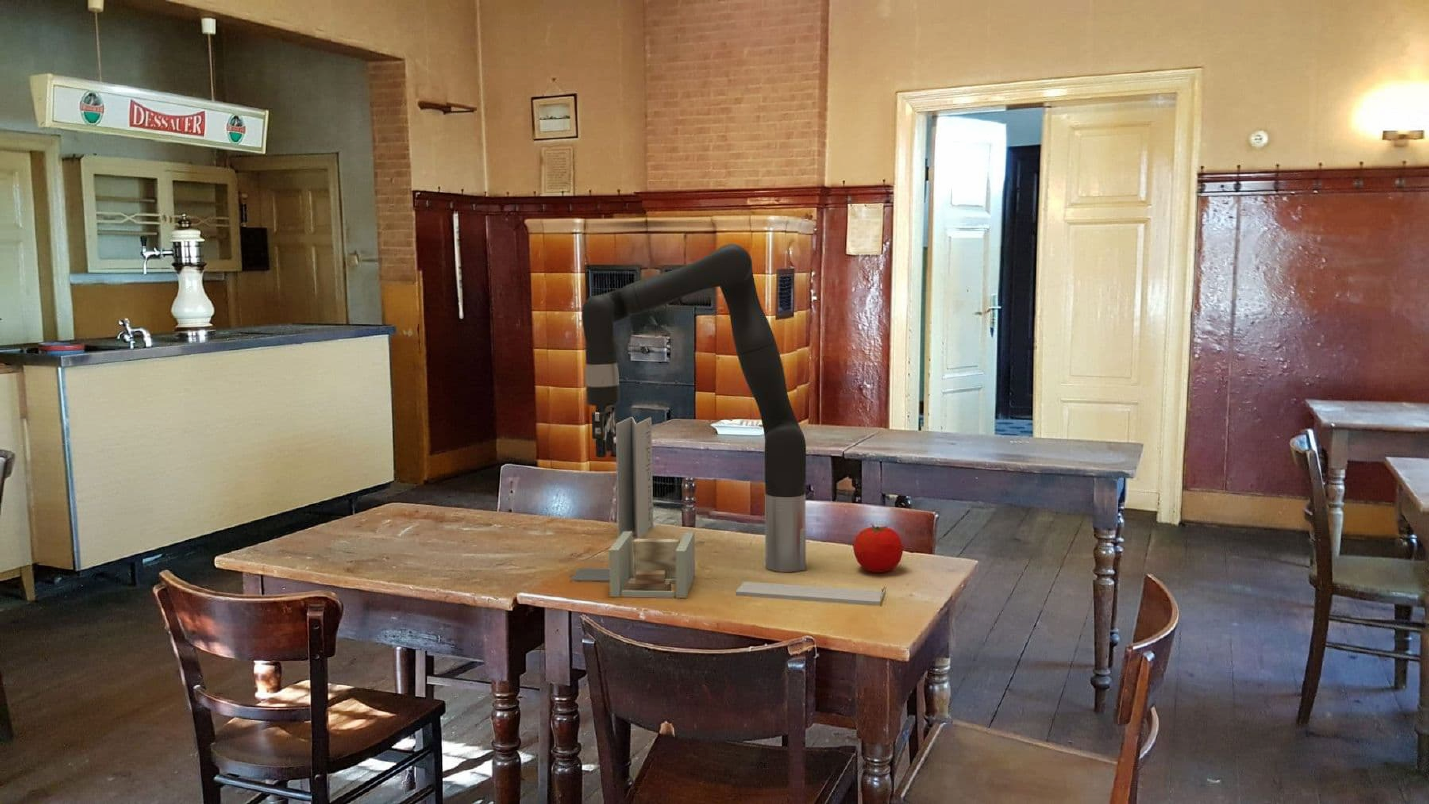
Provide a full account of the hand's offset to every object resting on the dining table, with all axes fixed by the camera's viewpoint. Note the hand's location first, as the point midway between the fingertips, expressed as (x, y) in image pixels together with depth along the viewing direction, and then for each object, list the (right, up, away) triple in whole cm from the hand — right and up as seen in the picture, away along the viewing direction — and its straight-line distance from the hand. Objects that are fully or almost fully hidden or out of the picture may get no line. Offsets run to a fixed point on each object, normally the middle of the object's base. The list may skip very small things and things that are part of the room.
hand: (605, 454), depth 237 cm
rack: (+12, -28, -13) cm, 33 cm away
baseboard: (+45, -29, -19) cm, 57 cm away
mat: (-1, -27, -4) cm, 28 cm away
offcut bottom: (+11, -29, -18) cm, 36 cm away
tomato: (+62, -27, -2) cm, 68 cm away
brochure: (+4, -23, +35) cm, 42 cm away
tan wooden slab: (+12, -28, -8) cm, 31 cm away
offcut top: (+12, -26, -19) cm, 34 cm away
